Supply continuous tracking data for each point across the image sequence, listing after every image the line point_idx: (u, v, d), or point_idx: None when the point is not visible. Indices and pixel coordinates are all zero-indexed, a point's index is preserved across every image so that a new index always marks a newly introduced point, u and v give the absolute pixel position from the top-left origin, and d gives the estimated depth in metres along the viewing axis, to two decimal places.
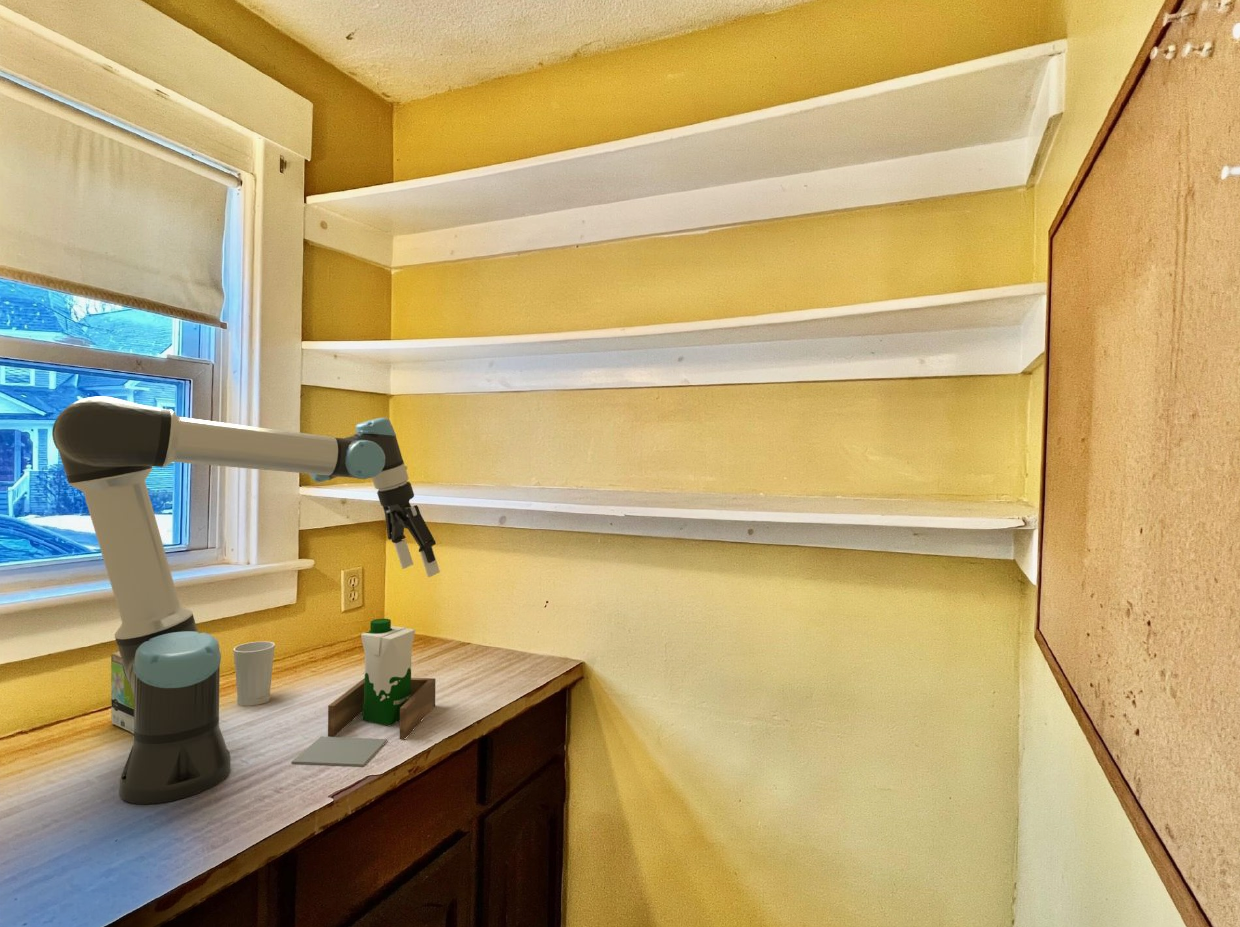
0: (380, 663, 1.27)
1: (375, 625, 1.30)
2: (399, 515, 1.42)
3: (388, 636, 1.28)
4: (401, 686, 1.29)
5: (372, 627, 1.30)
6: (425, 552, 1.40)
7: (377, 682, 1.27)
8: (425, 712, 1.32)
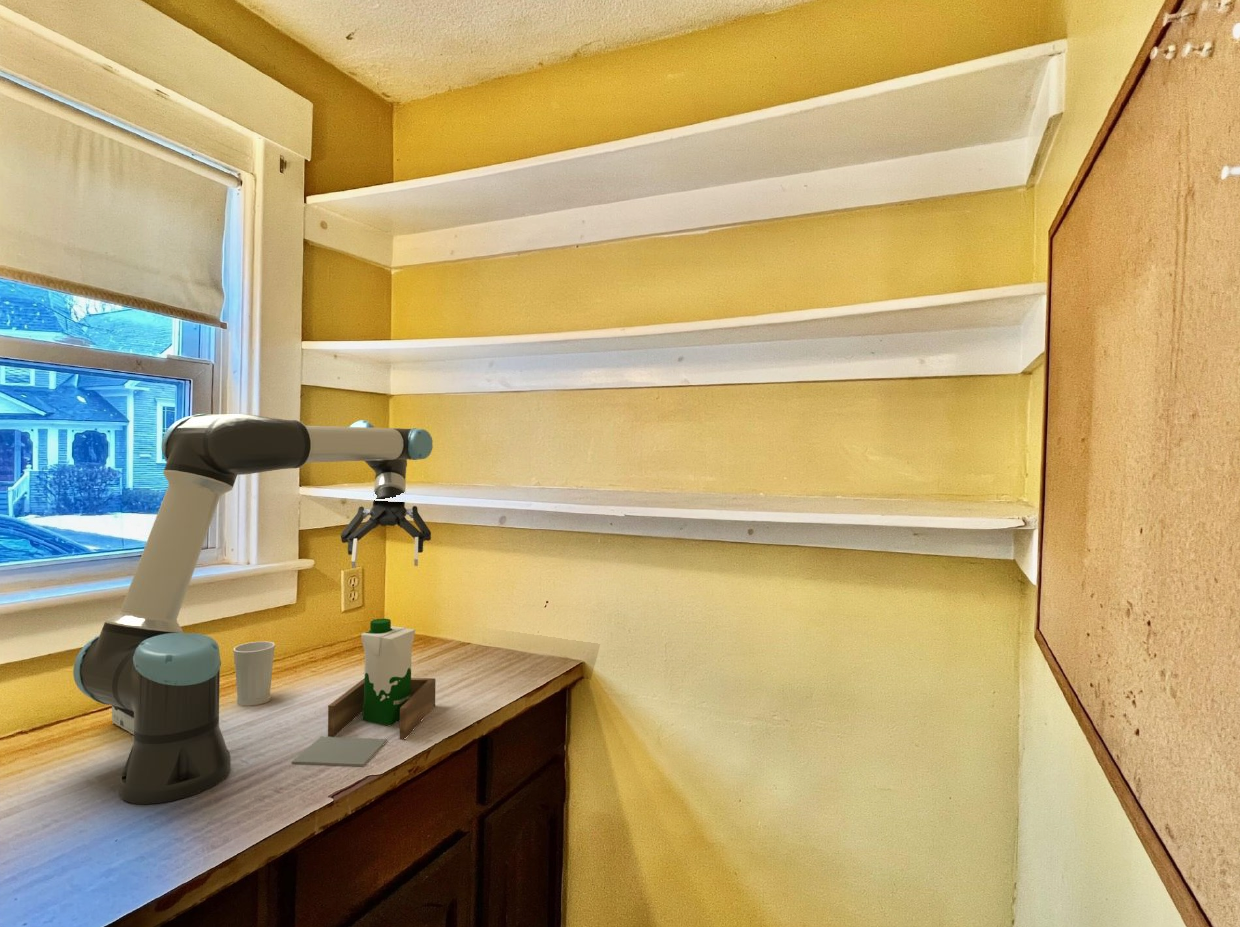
0: (380, 663, 1.27)
1: (375, 625, 1.30)
2: None
3: (388, 636, 1.28)
4: (401, 686, 1.29)
5: (372, 627, 1.30)
6: (420, 540, 1.51)
7: (377, 682, 1.27)
8: (425, 712, 1.32)
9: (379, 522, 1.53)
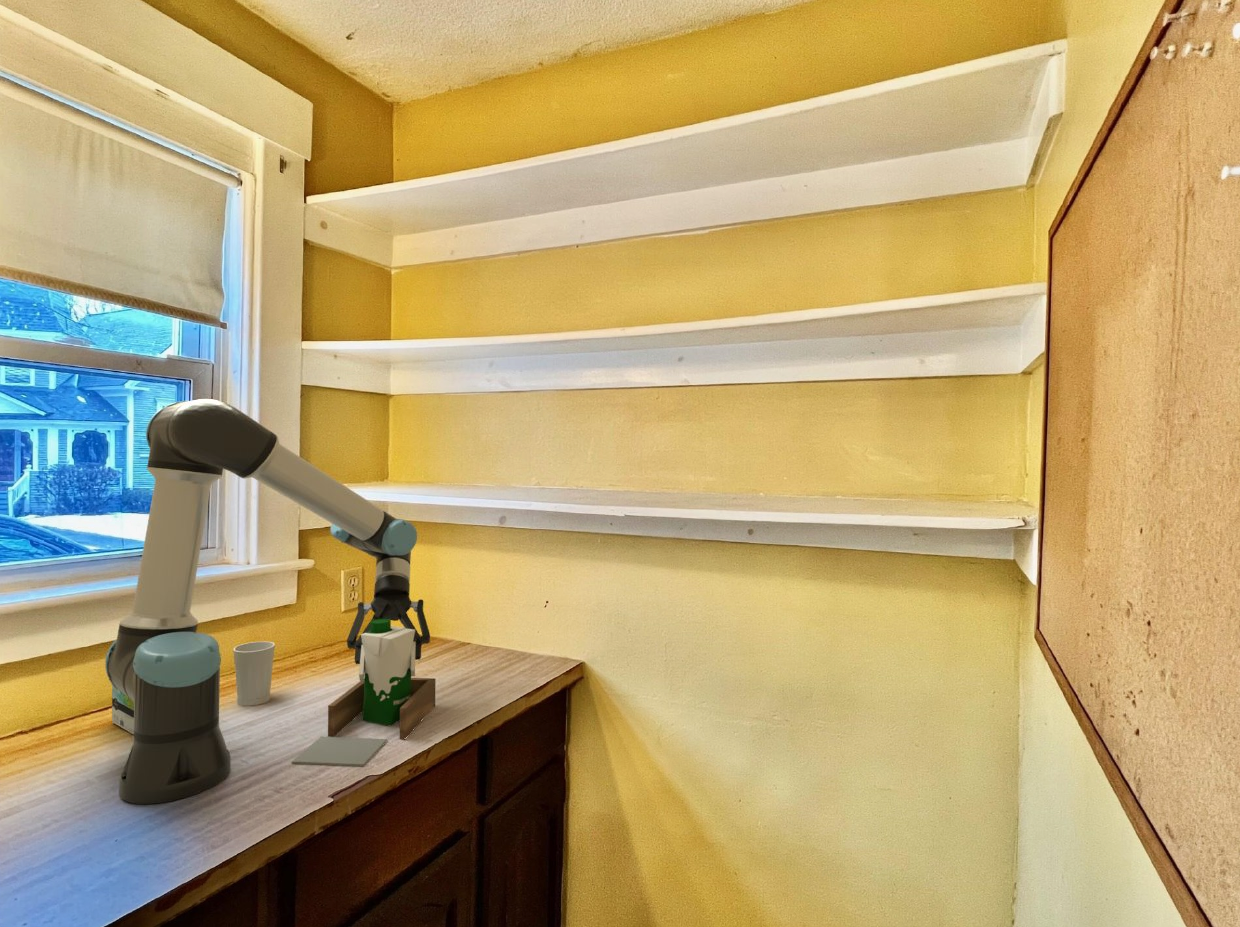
0: (380, 663, 1.27)
1: (375, 625, 1.30)
2: None
3: (387, 636, 1.28)
4: (401, 686, 1.29)
5: (372, 627, 1.30)
6: (417, 645, 1.34)
7: (377, 682, 1.27)
8: (425, 712, 1.32)
9: (381, 617, 1.37)
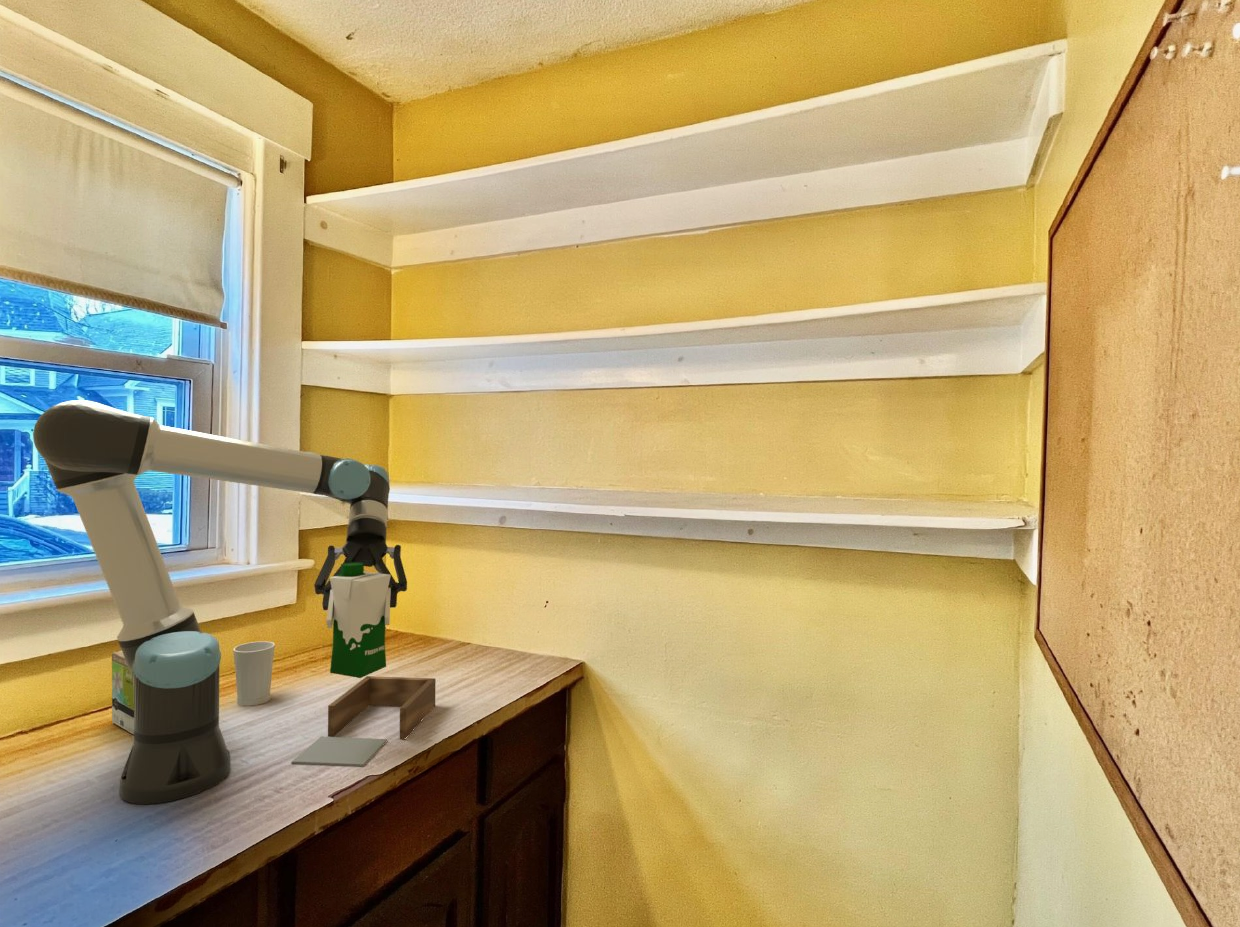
0: (350, 608, 1.15)
1: (346, 567, 1.18)
2: None
3: (359, 579, 1.16)
4: (374, 634, 1.16)
5: (342, 570, 1.18)
6: (393, 592, 1.21)
7: (346, 630, 1.15)
8: (425, 712, 1.32)
9: None
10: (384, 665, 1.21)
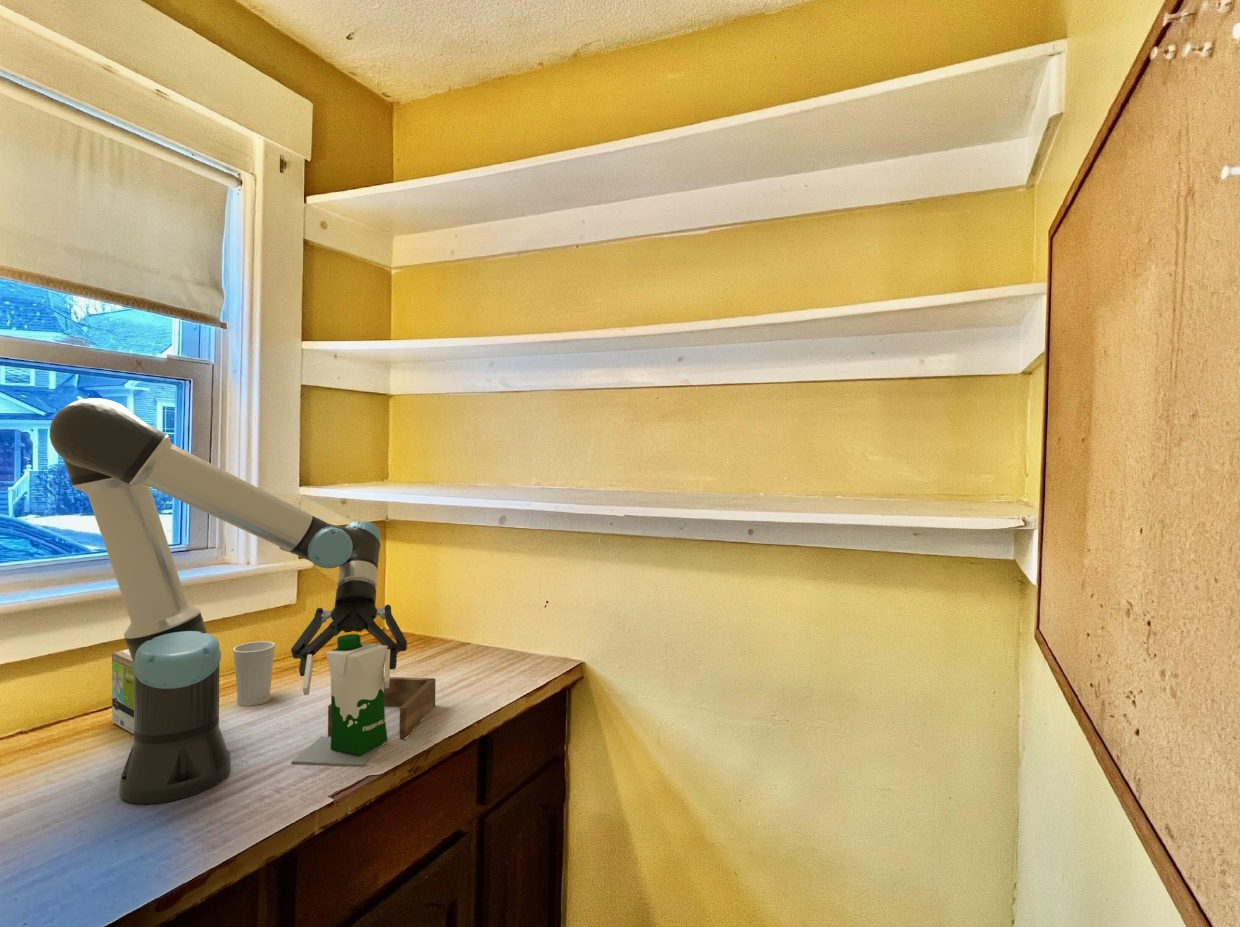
0: (346, 684, 1.13)
1: (341, 641, 1.17)
2: None
3: (354, 654, 1.14)
4: (371, 709, 1.14)
5: (339, 644, 1.17)
6: (393, 653, 1.20)
7: (343, 706, 1.13)
8: (425, 712, 1.32)
9: (342, 628, 1.21)
10: (385, 739, 1.18)
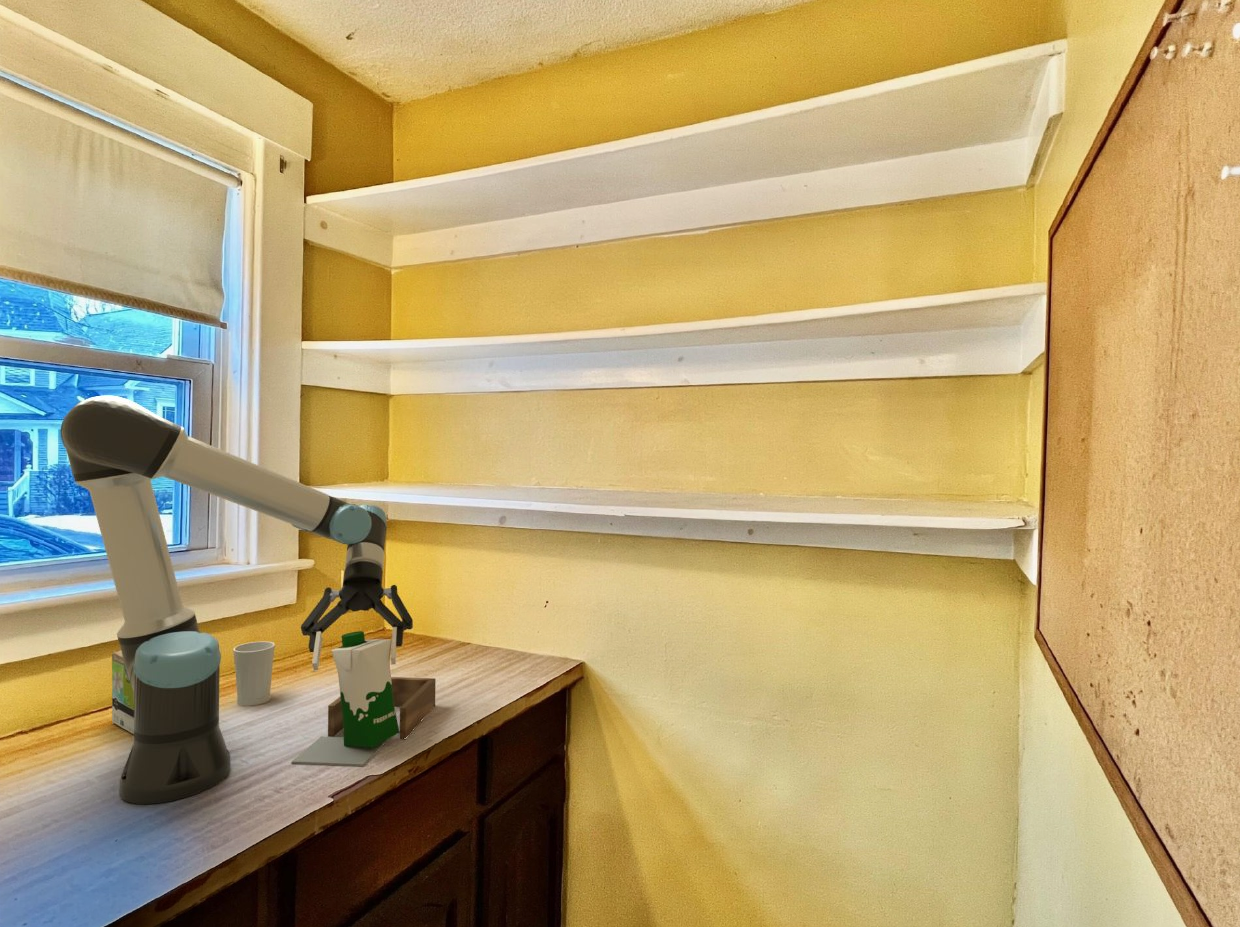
0: (353, 678, 1.15)
1: (346, 638, 1.19)
2: None
3: (359, 648, 1.16)
4: (380, 702, 1.16)
5: (343, 641, 1.19)
6: (399, 631, 1.24)
7: (352, 700, 1.15)
8: (425, 712, 1.32)
9: (350, 607, 1.25)
10: (397, 731, 1.20)
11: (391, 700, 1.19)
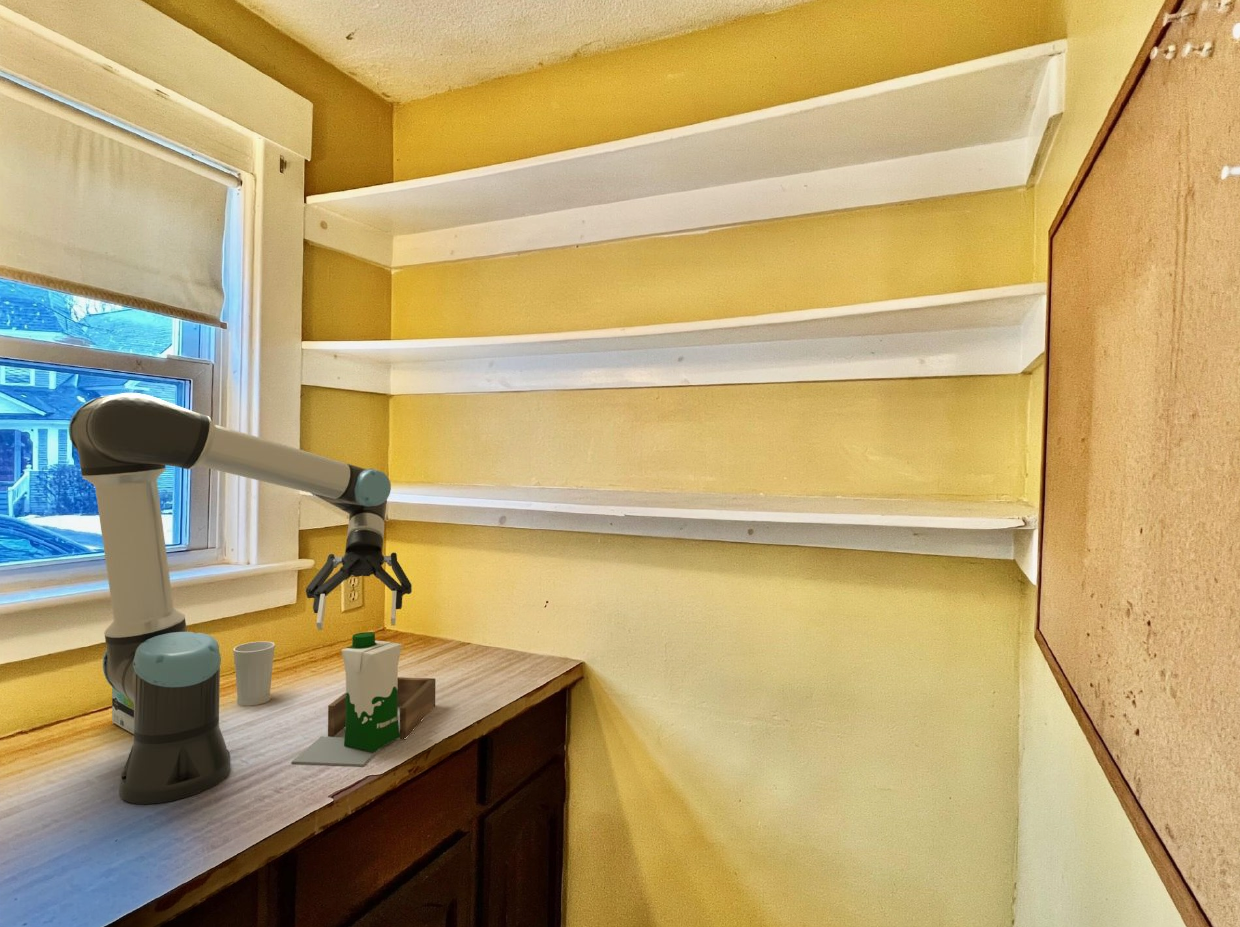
0: (361, 682, 1.15)
1: (357, 639, 1.18)
2: None
3: (370, 651, 1.16)
4: (385, 707, 1.16)
5: (354, 641, 1.18)
6: (398, 595, 1.30)
7: (358, 703, 1.15)
8: (425, 712, 1.32)
9: (352, 572, 1.32)
10: (397, 736, 1.20)
11: (395, 705, 1.19)
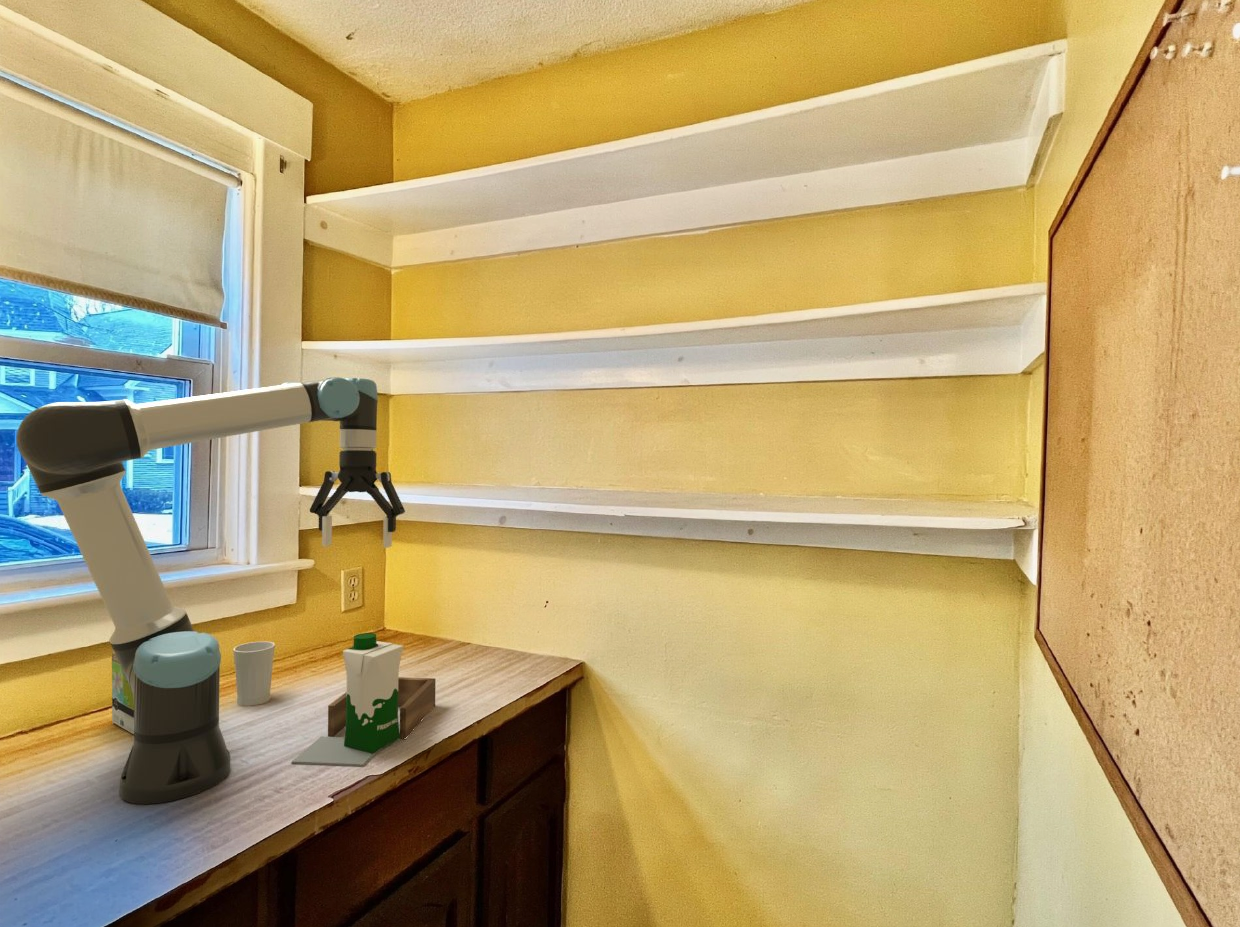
0: (362, 684, 1.14)
1: (358, 640, 1.18)
2: (364, 479, 1.36)
3: (371, 654, 1.15)
4: (386, 709, 1.16)
5: (355, 643, 1.18)
6: (390, 520, 1.37)
7: (358, 705, 1.14)
8: (425, 712, 1.32)
9: None
10: (398, 737, 1.20)
11: (396, 707, 1.18)
